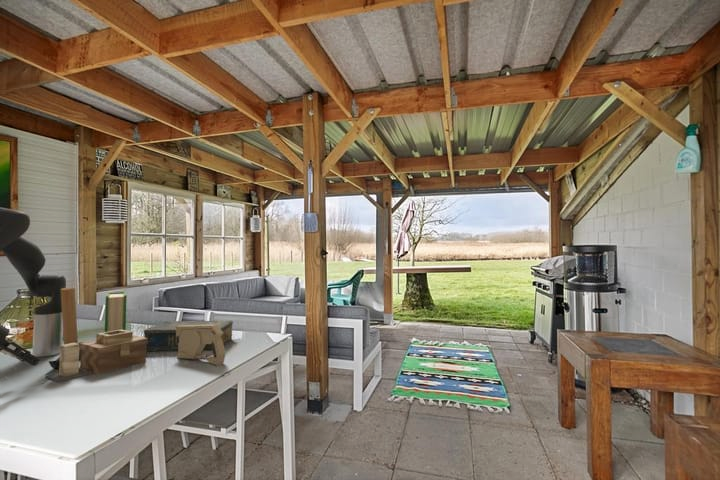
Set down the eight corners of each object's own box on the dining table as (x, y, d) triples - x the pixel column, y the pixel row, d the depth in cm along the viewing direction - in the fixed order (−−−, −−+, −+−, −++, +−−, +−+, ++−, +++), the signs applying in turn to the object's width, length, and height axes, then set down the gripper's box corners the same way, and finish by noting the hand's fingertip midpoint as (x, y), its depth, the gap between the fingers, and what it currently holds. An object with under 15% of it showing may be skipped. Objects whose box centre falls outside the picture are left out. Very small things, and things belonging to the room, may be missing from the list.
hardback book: (124, 350, 150) (126, 295, 151) (103, 352, 146) (105, 296, 147) (124, 341, 165) (126, 291, 166) (105, 343, 160) (107, 292, 161)
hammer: (66, 375, 125) (61, 296, 121) (49, 376, 123) (44, 296, 119) (90, 350, 144) (86, 281, 140) (75, 351, 142) (72, 281, 138)
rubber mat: (45, 377, 117) (46, 375, 117) (77, 369, 125) (77, 367, 125) (58, 382, 112) (58, 380, 112) (90, 374, 120) (90, 372, 120)
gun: (227, 363, 131) (225, 324, 132) (220, 366, 128) (218, 325, 129) (183, 361, 141) (181, 324, 142) (176, 363, 138) (174, 326, 139)
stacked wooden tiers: (78, 367, 127) (80, 334, 127) (127, 355, 141) (128, 326, 142) (98, 374, 119) (99, 339, 120) (147, 361, 134) (148, 330, 134)
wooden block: (59, 374, 117) (60, 345, 118) (73, 371, 121) (74, 342, 121) (64, 376, 115) (65, 346, 116) (78, 373, 119) (79, 344, 119)
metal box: (165, 341, 167) (166, 320, 167) (233, 339, 170) (233, 319, 170) (141, 353, 146) (142, 329, 146) (219, 351, 148) (220, 328, 149)
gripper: (3, 323, 99) (52, 353, 109) (-13, 319, 106) (34, 347, 116) (-24, 345, 94) (29, 375, 104) (-40, 340, 101) (11, 368, 111)
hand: (31, 360), depth 110 cm, fingers open, 8 cm apart
